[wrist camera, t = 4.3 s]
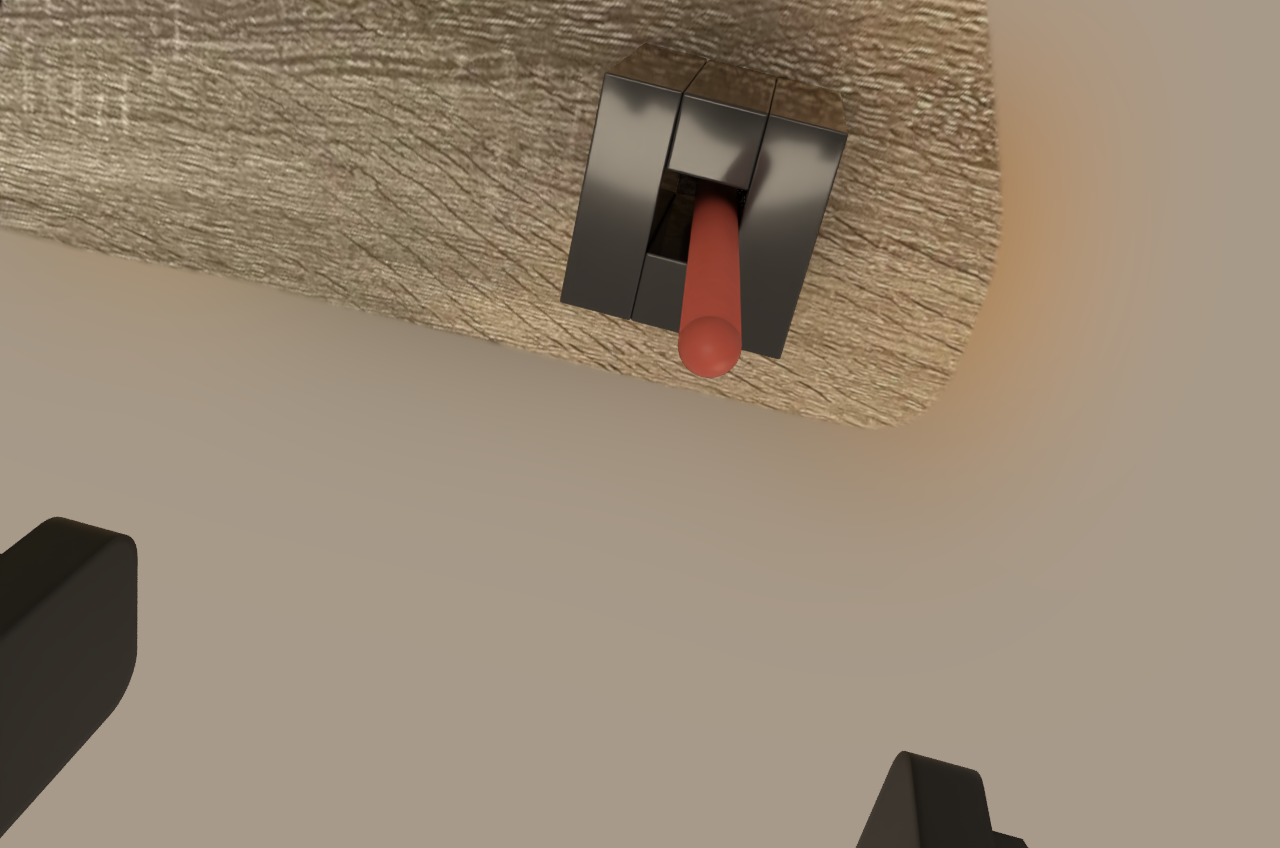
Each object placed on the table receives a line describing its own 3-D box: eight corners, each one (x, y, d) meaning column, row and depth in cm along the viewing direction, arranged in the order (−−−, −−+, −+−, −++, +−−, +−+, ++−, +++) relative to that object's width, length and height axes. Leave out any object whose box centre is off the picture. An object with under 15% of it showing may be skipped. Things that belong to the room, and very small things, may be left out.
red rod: (741, 152, 34) (749, 335, 19) (731, 189, 34) (733, 394, 20) (703, 143, 34) (684, 320, 19) (695, 180, 34) (670, 379, 20)
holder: (841, 92, 32) (849, 133, 26) (785, 282, 35) (779, 360, 29) (644, 42, 33) (604, 71, 26) (604, 234, 35) (558, 302, 29)
